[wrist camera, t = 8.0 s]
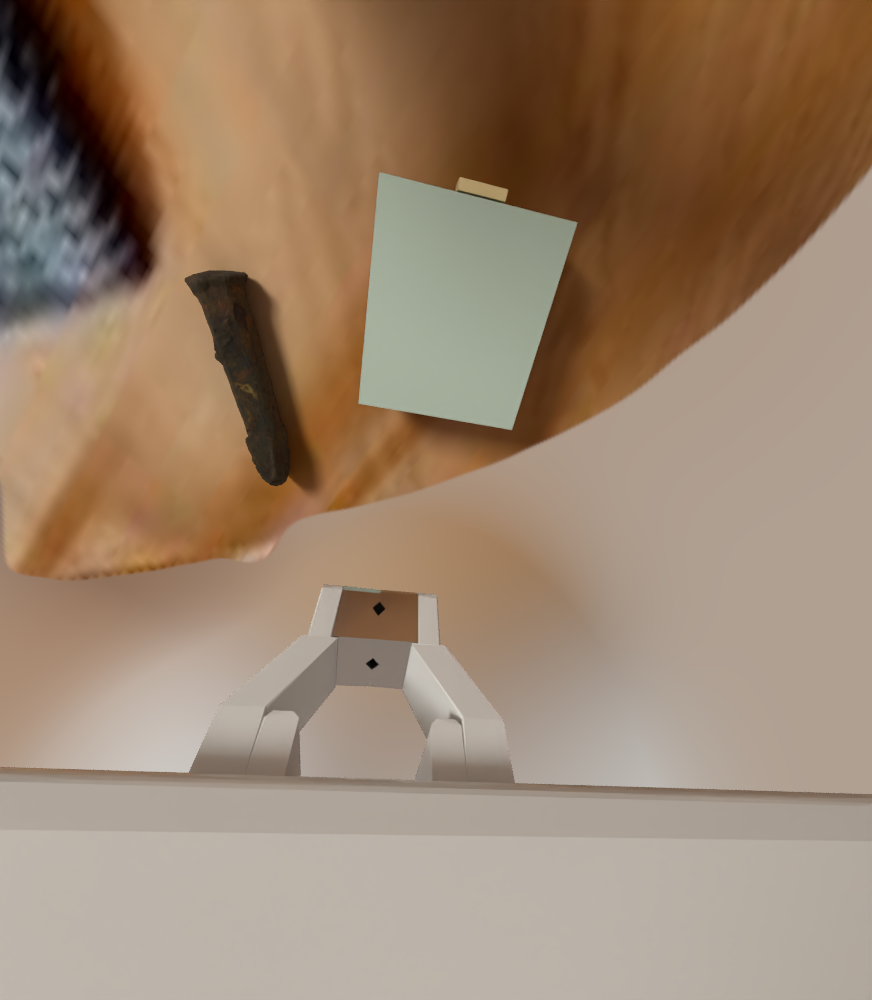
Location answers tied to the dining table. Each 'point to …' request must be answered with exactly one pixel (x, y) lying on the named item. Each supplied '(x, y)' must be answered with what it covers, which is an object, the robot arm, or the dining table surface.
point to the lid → (457, 299)
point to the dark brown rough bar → (244, 368)
